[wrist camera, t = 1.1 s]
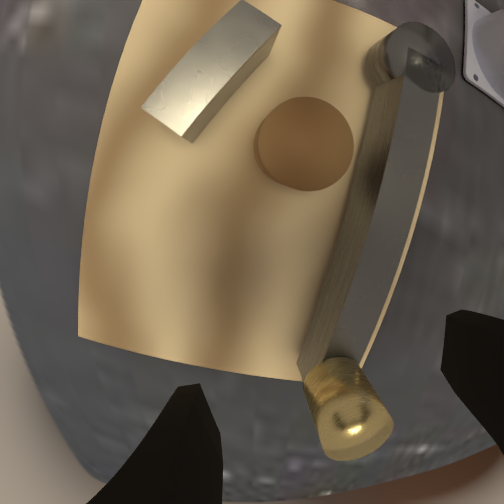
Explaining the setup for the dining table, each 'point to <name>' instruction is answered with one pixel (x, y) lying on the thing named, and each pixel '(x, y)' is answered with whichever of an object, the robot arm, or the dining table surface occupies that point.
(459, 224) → the dining table surface
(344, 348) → the press lever
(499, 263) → the dining table surface
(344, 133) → the brown cylinder
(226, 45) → the gray block
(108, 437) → the dining table surface
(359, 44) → the board
